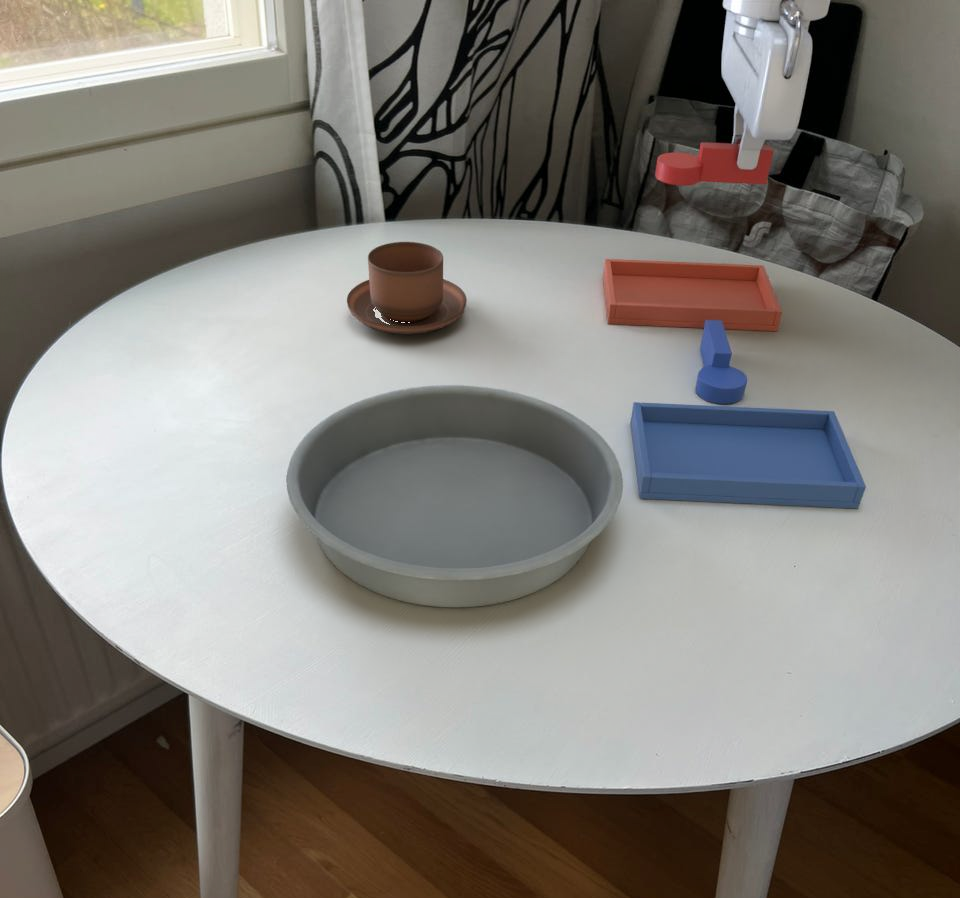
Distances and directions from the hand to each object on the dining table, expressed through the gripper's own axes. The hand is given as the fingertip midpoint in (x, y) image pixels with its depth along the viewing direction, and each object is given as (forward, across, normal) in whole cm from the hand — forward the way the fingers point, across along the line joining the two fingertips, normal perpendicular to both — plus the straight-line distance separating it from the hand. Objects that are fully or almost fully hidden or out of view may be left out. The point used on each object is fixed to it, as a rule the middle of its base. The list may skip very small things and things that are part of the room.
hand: (742, 161), depth 90 cm
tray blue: (+14, -29, +2) cm, 33 cm away
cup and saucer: (+15, -5, +32) cm, 35 cm away
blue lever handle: (+14, -14, +2) cm, 20 cm away
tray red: (+14, +1, +3) cm, 15 cm away
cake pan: (+15, -38, +25) cm, 48 cm away
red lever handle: (+2, 0, +2) cm, 3 cm away
